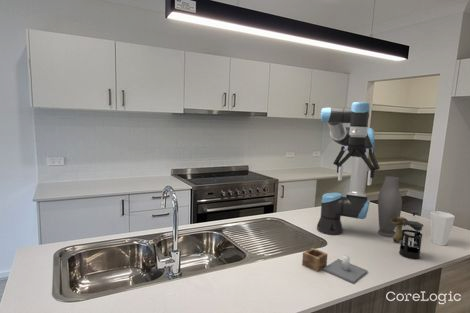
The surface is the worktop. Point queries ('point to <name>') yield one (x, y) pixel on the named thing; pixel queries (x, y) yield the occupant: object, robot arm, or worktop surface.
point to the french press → (408, 246)
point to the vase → (389, 206)
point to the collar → (314, 259)
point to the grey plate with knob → (345, 270)
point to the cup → (441, 227)
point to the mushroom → (398, 227)
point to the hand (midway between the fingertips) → (354, 182)
